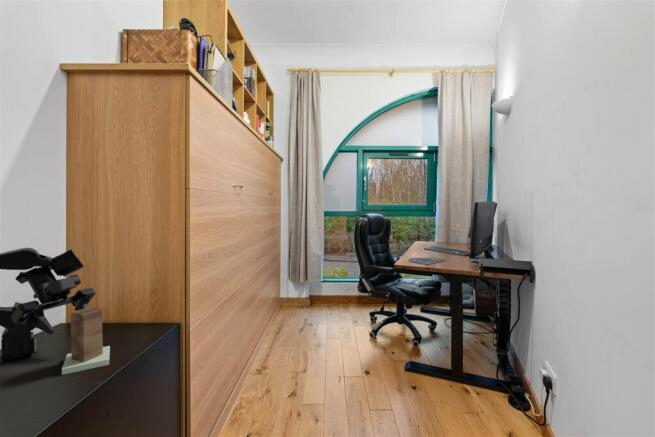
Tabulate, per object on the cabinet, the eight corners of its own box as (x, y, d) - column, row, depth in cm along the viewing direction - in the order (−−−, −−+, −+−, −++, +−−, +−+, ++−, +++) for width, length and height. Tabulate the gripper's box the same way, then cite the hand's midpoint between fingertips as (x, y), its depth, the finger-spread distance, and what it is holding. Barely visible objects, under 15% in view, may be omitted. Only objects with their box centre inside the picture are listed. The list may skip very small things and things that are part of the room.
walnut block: (71, 359, 87) (70, 312, 86) (90, 351, 92) (89, 307, 91) (84, 362, 85) (83, 314, 85) (102, 354, 90) (102, 309, 89)
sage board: (61, 375, 82) (61, 369, 82) (67, 359, 90) (67, 353, 90) (108, 364, 87) (108, 359, 87) (109, 350, 95) (109, 345, 95)
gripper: (16, 274, 82) (44, 321, 79) (91, 262, 100) (116, 300, 97) (-1, 300, 85) (26, 347, 82) (75, 284, 103) (99, 322, 100)
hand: (71, 327), depth 90 cm, fingers open, 9 cm apart
